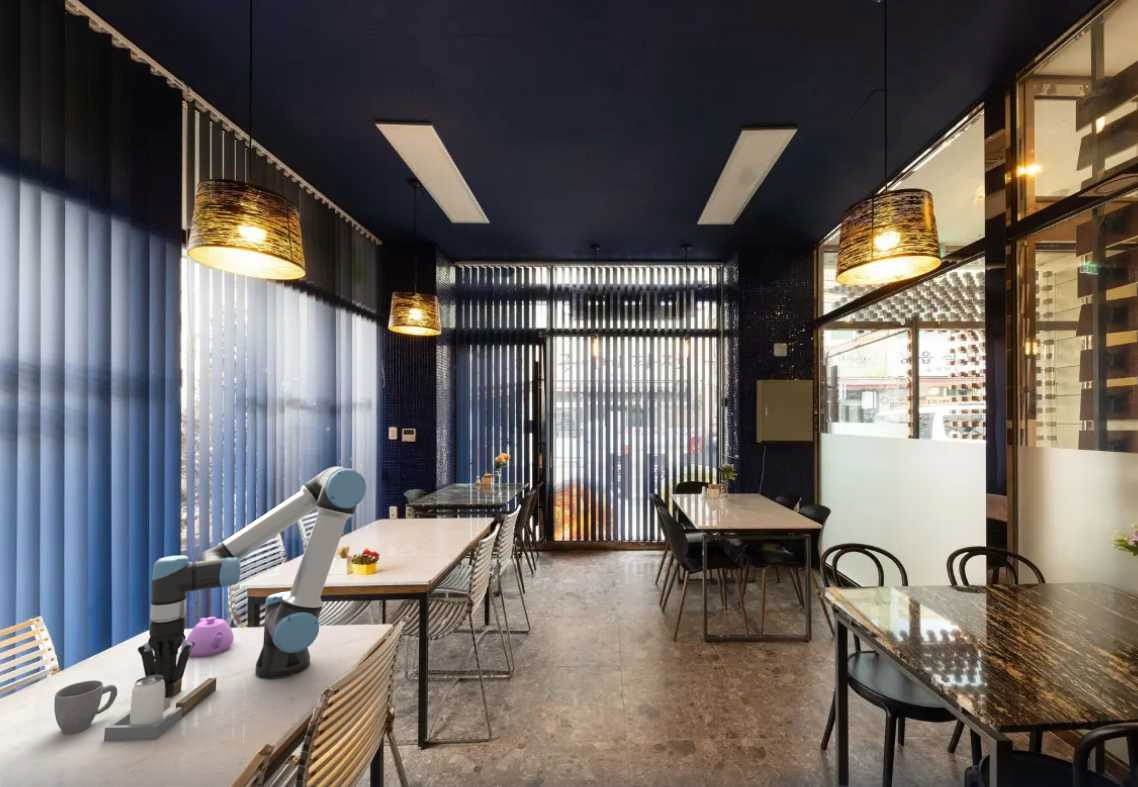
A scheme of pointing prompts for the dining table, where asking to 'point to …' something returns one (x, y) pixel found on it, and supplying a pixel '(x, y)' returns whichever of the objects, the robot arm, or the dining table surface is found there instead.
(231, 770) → the dining table surface
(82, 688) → the mug
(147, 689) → the can
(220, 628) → the teapot
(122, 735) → the bay
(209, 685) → the chute
